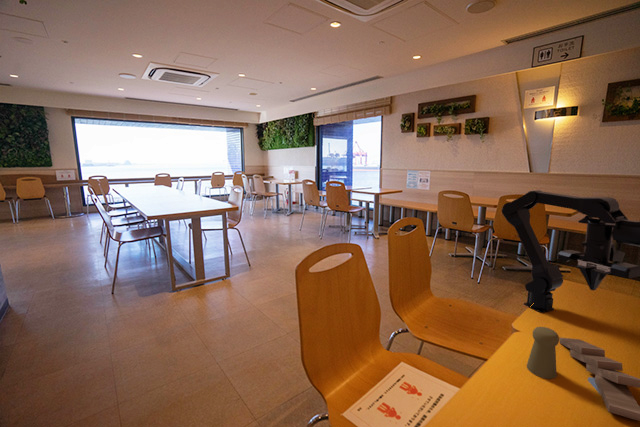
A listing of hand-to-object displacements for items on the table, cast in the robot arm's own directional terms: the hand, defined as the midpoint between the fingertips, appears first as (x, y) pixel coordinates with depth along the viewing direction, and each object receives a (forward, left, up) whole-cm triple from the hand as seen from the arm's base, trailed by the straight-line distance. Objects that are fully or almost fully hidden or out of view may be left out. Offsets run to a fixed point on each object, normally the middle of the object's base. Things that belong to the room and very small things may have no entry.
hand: (592, 290), depth 91 cm
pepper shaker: (+9, -33, -12) cm, 36 cm away
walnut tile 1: (+4, -14, -12) cm, 19 cm away
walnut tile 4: (+18, -24, -11) cm, 32 cm away
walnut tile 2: (+9, -18, -11) cm, 23 cm away
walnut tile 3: (+14, -21, -11) cm, 28 cm away
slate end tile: (+16, -24, -12) cm, 31 cm away
